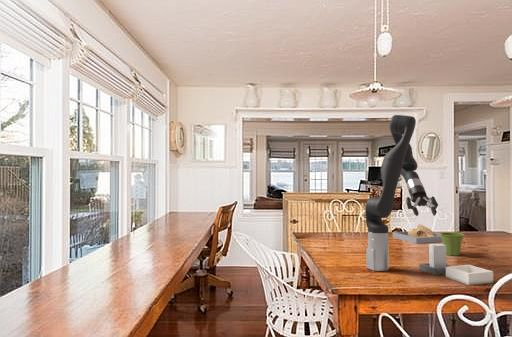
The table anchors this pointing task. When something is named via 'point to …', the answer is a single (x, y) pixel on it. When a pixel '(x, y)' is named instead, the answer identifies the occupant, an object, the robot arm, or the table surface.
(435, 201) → the robot arm
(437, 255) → the skincare box
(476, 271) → the bin
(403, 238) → the tray rim
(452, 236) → the plant pot
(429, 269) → the collar
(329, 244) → the table surface
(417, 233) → the tan rock hide
